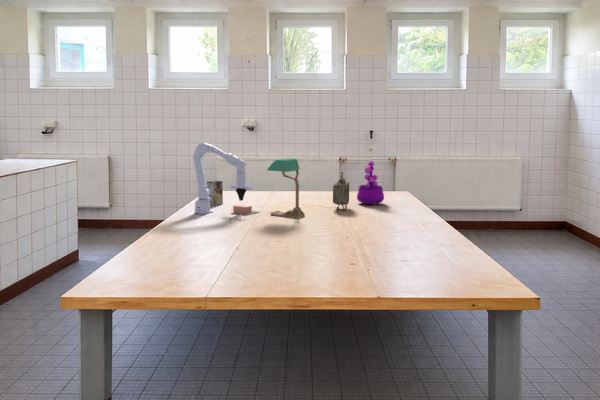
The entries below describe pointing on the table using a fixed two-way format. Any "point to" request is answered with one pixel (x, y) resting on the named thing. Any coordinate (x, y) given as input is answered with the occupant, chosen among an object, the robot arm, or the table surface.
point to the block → (242, 209)
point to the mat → (245, 214)
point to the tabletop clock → (341, 192)
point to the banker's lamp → (288, 166)
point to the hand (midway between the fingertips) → (241, 200)
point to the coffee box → (215, 192)
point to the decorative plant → (370, 188)
